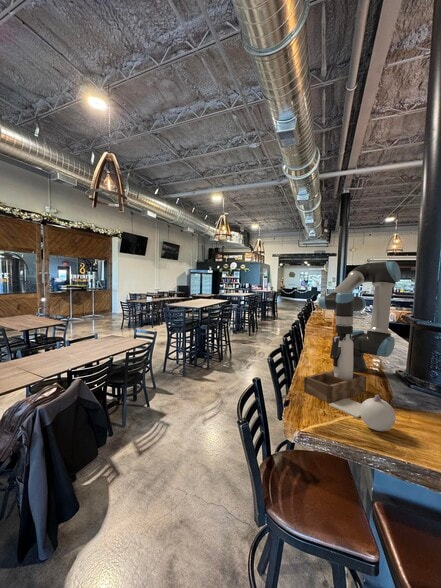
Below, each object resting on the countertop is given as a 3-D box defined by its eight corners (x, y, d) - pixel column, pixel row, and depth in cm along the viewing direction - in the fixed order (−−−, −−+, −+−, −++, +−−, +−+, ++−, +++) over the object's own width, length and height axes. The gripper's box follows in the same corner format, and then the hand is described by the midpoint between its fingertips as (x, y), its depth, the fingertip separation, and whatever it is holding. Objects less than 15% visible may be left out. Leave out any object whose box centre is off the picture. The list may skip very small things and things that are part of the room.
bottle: (331, 389, 125) (332, 331, 125) (337, 384, 131) (338, 329, 130) (349, 394, 120) (350, 333, 119) (354, 389, 126) (355, 331, 125)
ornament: (381, 440, 83) (381, 402, 83) (353, 424, 93) (354, 391, 92) (401, 433, 87) (402, 397, 87) (373, 419, 97) (373, 387, 97)
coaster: (346, 399, 114) (346, 398, 114) (374, 410, 104) (374, 409, 104) (328, 405, 108) (328, 404, 108) (356, 418, 98) (356, 416, 98)
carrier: (339, 382, 135) (339, 368, 135) (366, 391, 123) (366, 376, 123) (304, 392, 122) (304, 377, 122) (330, 403, 110) (330, 387, 110)
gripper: (351, 322, 134) (350, 365, 134) (321, 325, 122) (321, 372, 123) (365, 324, 127) (364, 369, 128) (336, 327, 116) (335, 377, 116)
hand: (343, 371), depth 125 cm, fingers open, 10 cm apart
